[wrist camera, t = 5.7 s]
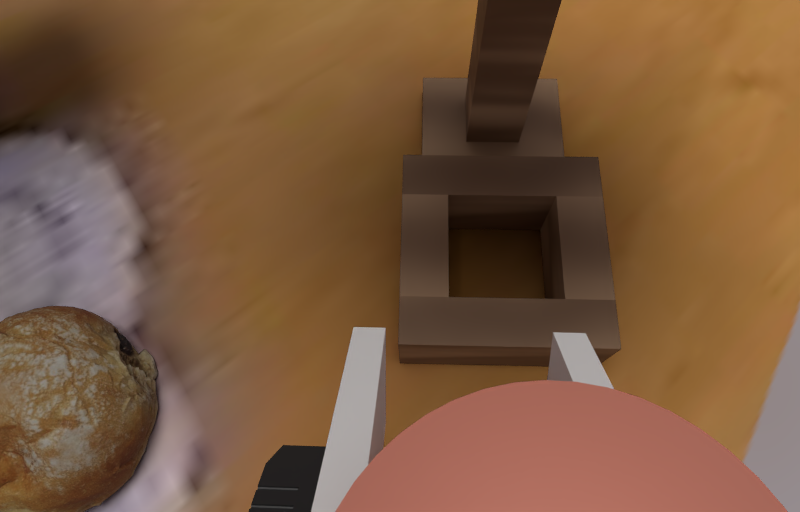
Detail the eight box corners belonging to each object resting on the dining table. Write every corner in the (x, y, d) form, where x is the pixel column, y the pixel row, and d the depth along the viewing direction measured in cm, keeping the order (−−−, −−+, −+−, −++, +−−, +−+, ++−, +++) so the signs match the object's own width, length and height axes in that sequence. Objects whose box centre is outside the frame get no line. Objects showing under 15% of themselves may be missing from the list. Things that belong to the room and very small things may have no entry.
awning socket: (634, 368, 30) (1886, -363, 5) (361, 362, 30) (99, -342, 5) (599, 95, 36) (1034, -836, 11) (374, 93, 37) (292, -810, 11)
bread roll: (202, 441, 33) (204, 366, 27) (16, 603, 26) (-33, 549, 20) (88, 332, 35) (67, 242, 29) (-109, 454, 28) (-184, 368, 23)
